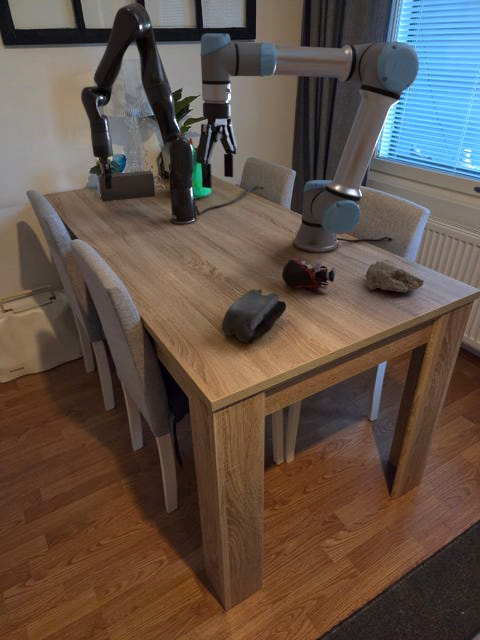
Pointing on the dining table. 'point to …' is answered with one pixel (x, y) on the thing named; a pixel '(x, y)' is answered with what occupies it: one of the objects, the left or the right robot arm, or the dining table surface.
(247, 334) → the dark grey pouch
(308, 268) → the toy
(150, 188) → the box
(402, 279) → the artifact
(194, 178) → the toy
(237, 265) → the dining table surface
